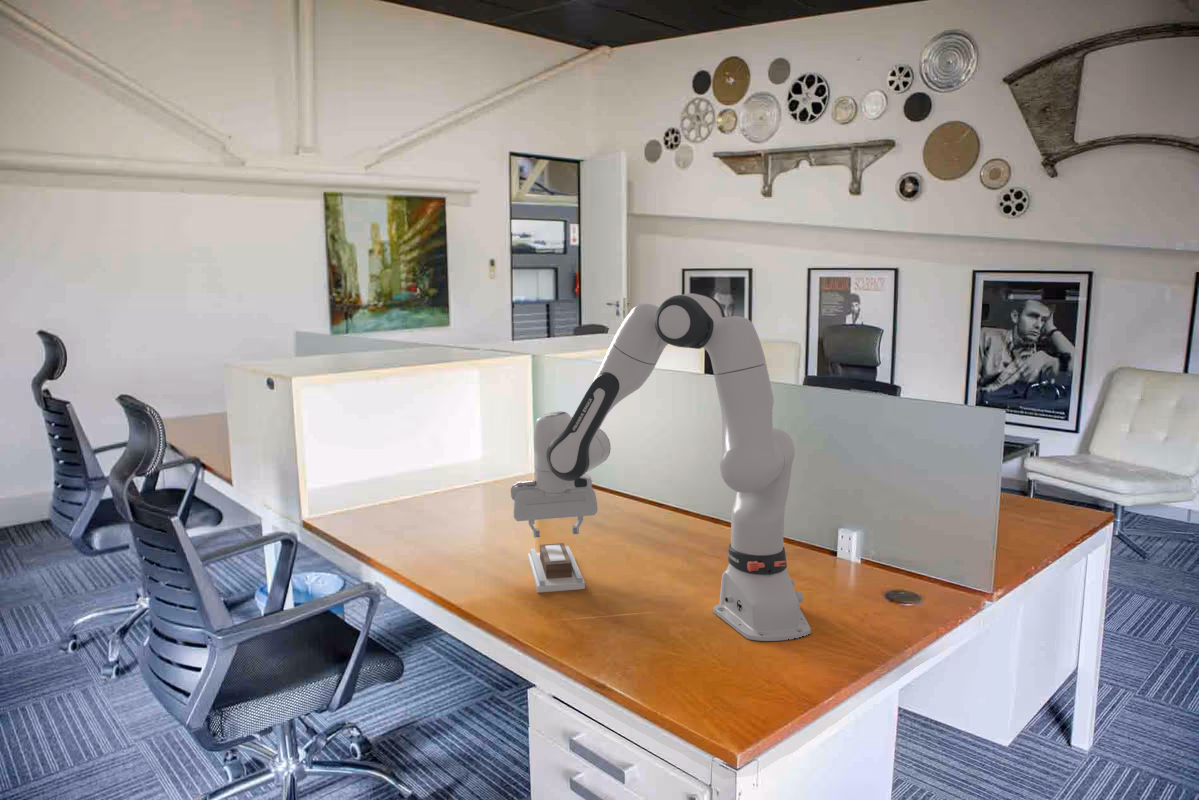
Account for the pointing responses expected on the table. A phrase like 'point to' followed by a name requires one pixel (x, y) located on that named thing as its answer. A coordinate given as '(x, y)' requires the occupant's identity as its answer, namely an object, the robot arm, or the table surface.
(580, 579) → the picture ledge
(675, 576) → the table surface
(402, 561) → the table surface
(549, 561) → the picture frame
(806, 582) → the table surface
